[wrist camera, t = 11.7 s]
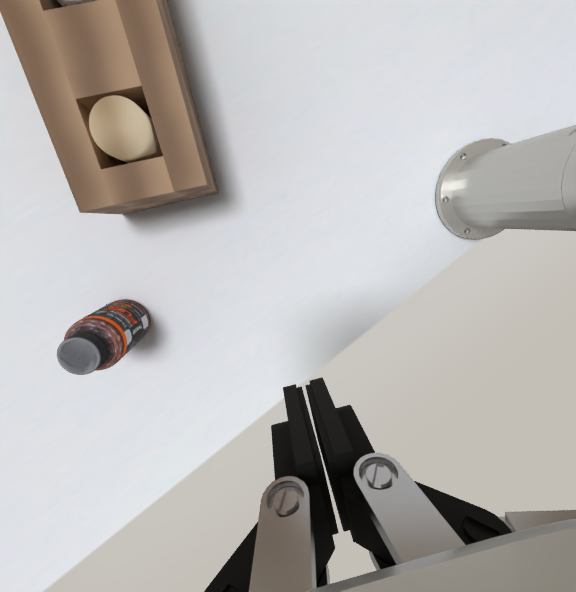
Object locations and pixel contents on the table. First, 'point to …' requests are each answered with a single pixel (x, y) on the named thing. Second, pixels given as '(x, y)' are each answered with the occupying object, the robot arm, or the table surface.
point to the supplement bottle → (103, 337)
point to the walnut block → (106, 82)
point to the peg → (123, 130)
